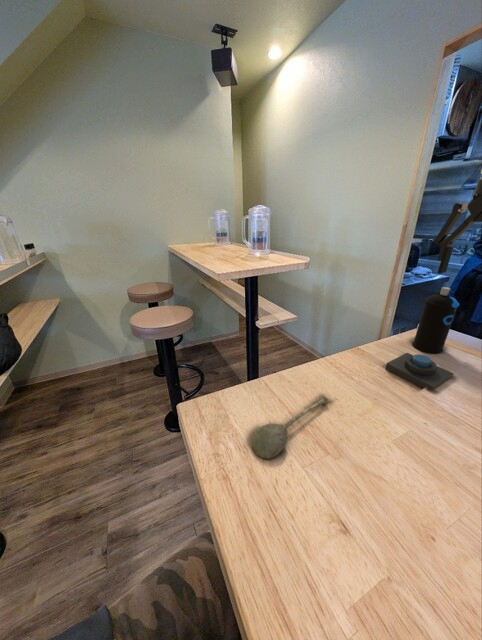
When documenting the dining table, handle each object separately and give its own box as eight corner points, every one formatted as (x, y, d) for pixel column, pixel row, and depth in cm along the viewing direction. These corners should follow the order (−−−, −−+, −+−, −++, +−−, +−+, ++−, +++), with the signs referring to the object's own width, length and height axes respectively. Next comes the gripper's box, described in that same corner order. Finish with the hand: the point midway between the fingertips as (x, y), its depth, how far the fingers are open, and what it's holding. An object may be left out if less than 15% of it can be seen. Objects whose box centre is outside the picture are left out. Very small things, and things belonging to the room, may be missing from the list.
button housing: (451, 380, 66) (456, 367, 65) (431, 394, 62) (435, 381, 60) (405, 358, 76) (408, 347, 74) (385, 369, 72) (387, 357, 70)
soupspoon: (245, 444, 52) (266, 469, 47) (245, 433, 50) (266, 458, 46) (315, 394, 63) (337, 411, 58) (316, 384, 61) (340, 400, 57)
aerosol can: (409, 348, 81) (426, 289, 73) (415, 338, 86) (431, 282, 78) (440, 357, 76) (463, 294, 67) (444, 346, 81) (465, 287, 73)
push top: (432, 365, 67) (434, 359, 66) (424, 370, 65) (426, 364, 64) (416, 358, 70) (418, 352, 69) (408, 362, 68) (410, 357, 67)
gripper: (433, 179, 60) (410, 270, 70) (584, 167, 42) (525, 292, 52) (449, 179, 64) (425, 266, 73) (595, 168, 45) (538, 285, 55)
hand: (466, 277), depth 62 cm, fingers open, 10 cm apart
